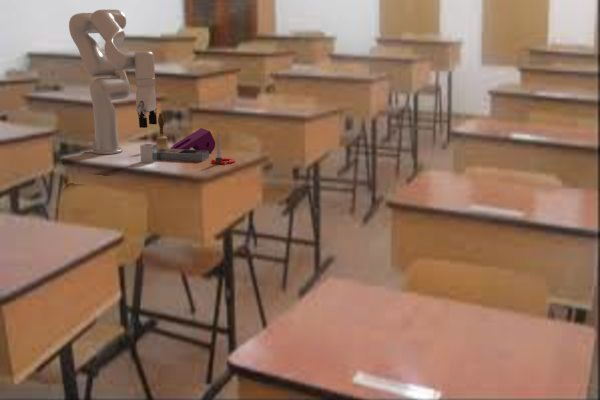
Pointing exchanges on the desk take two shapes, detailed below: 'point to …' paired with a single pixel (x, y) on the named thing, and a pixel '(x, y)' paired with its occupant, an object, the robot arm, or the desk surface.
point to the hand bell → (162, 135)
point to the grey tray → (182, 155)
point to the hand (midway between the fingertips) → (148, 125)
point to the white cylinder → (148, 153)
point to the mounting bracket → (197, 141)
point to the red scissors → (218, 158)
